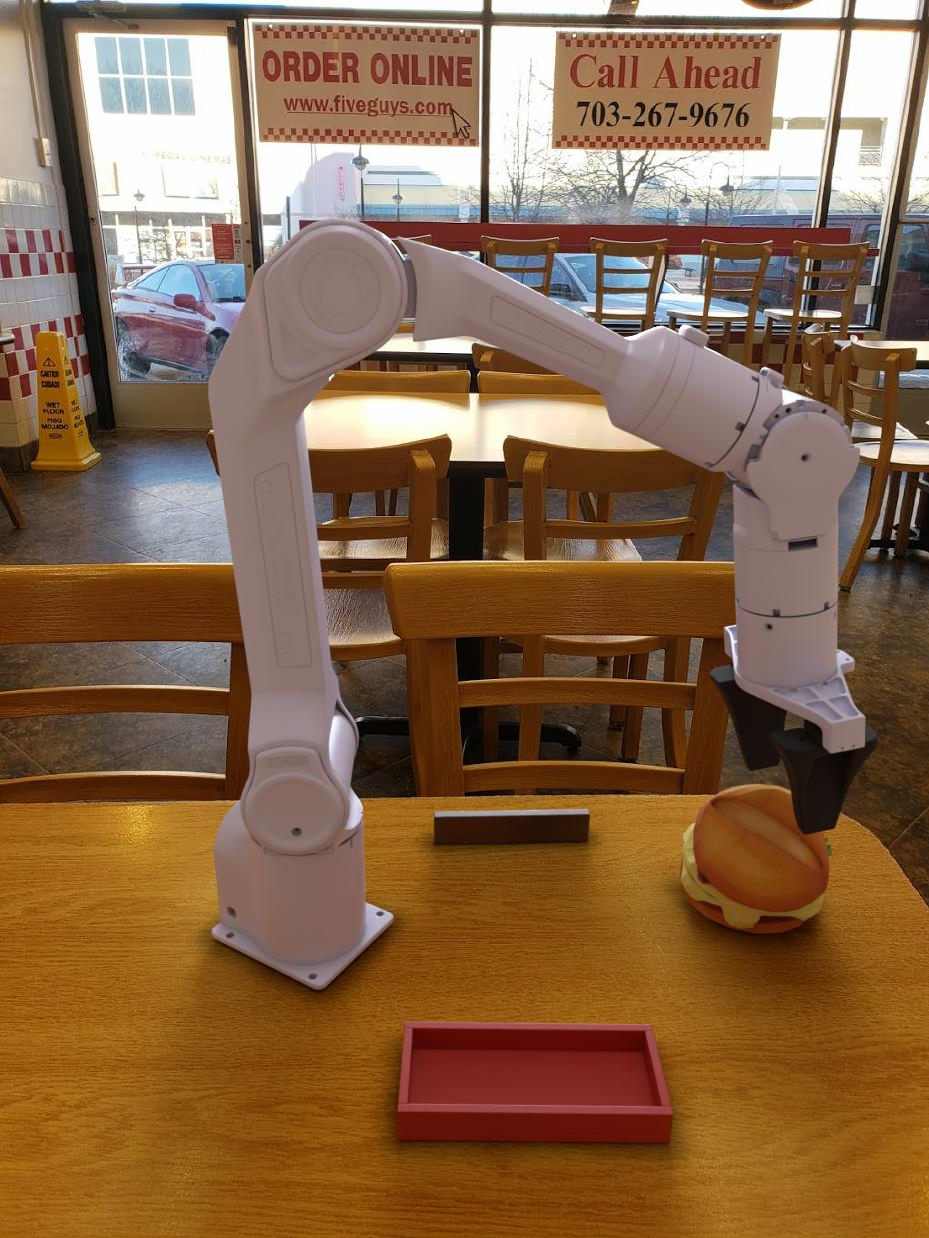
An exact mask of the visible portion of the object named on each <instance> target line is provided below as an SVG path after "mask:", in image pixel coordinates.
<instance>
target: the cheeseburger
mask: <svg viewBox="0 0 929 1238" xmlns="http://www.w3.org/2000/svg"><path fill="white" fill-rule="evenodd" d="M682 838H683V840H682V841H681V842H682V844H683V845H682V851H681V855H682V858H681V865H680V870H679V871H680V872H679V880H680V885H681V888H682V890H683V892H684V894H685V897H686V899H687V902H688V903H689V904H690V905H691V906H692V907H693V908H694V909H696V910H697V911H698V912H699V913H701V914H702V915H703V916H704V917H705V918H707V919H709V920H712V921H713V922H716V923H718V924H720V925H723V926H724V927H726V928H729V929H731V930H737V931H742V932H747V933H751V934H755V935H759V934H760V935H761V934H762V935H763V934H783V933H786V932H788V931H790V930H792V929H795V928H798V927H800V926H802V925H803V924H804V922H805V921H807V920H808V919H810V918H813V917H814V916H815V915H817V914H818V913H819V912H820V911H821V910H822V907H823V903H824V900H825V895H824V894H825V893H826V891H827V888H828V884H829V880H830V879H829V878H830V871H831V870H830V859H829V857H831V856H832V855H833V853H832V845H831V844H830V843H827V842H828V841H829V840H828V837H825V835H824V831H822V832H817V833H812V834H807V835H805V834H803V833H802V832H801V831H800V829H799V828H798V825H797V822H796V819H795V816H794V810H793V803H792V796H791V789H787V788H785V787H782V786H781V785H780V786H779V785H777V784H776V785H773V784H765V783H764V784H763V783H753V784H751V783H750V784H742V785H737V786H731V787H729V788H726V789H723V790H721V791H719V792H718V793H716V794H715V795H713V796H712V797H711V798H710V799H709V800H707V801H706V802H705V803H704V804H703V805H701V807H700V808H699V810H698V813H697V816H696V820H695V821H694V822H693V823H692V824H690V825H689V826H688V828H687V829H686V830H685V831H684V833H683V834H682Z"/></svg>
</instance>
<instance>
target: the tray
mask: <svg viewBox="0 0 929 1238" xmlns="http://www.w3.org/2000/svg"><path fill="white" fill-rule="evenodd" d="M399 1072H400V1073H399V1083H398V1084H399V1085H398V1097H397V1109H396V1118H397V1119H396V1121H397V1126H396V1127H397V1140H398V1141H451V1142H452V1141H458V1142H459V1141H463V1142H465V1141H466V1142H539V1143H540V1142H541V1143H543V1142H544V1143H545V1142H547V1143H549V1142H550V1143H551V1142H552V1143H557V1142H558V1143H634V1144H635V1143H637V1144H638V1143H639V1144H642V1143H643V1144H644V1143H645V1144H651V1143H652V1144H659V1143H660V1144H669V1143H671V1137H672V1130H673V1122H674V1111H673V1107H672V1103H671V1099H670V1094H669V1091H668V1087H667V1082H666V1077H665V1073H664V1069H663V1065H662V1060H661V1058H660V1053H659V1049H658V1044H657V1041H656V1037H655V1032H654V1028H653V1024H647V1023H645V1024H640V1023H639V1024H638V1023H635V1024H633V1023H632V1024H631V1023H629V1024H628V1023H556V1022H554V1023H552V1022H551V1023H550V1022H549V1023H548V1022H545V1023H544V1022H465V1021H464V1022H461V1021H458V1022H457V1021H455V1022H454V1021H452V1022H451V1021H404V1023H403V1035H402V1047H401V1060H400V1071H399Z"/></svg>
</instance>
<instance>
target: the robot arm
mask: <svg viewBox="0 0 929 1238" xmlns="http://www.w3.org/2000/svg"><path fill="white" fill-rule="evenodd" d="M396 239H397V241H398V242H399V243H400V245H401V248H402V249H403V251H405V252H406V253H407V255H408V257H409V258H408V259H407V258H406V259H405V258H404V257H403V254H402V253H401V251H400V250H399V248H398V247H397V246H396V245H395V243H394V242H393V241H392V240H391V239H390V238H389V237H388V236H386V234H384V233H382V232H381V231H379V230H377V229H375V228H374V227H372V226H369V225H368V224H365V223H364V222H361V221H357V220H355V219H350V218H343V217H336V218H335V217H332V218H324V219H320V220H317V221H314V222H312V223H310V224H308V225H306V226H305V227H303V228H300V230H298V232H296V233H295V234H294V235H293V236H292V237H290V239H288V240H287V241H286V242H285V243H284V244H283V245H282V246H281V247H279V249H277V250H276V252H274V254H272V255H271V256H270V257H269V258H268V259H267V260H266V261H265V262H264V263H262V264H261V266H259V268H258V269H256V271H255V273H254V277H253V279H252V282H251V286H250V289H249V292H248V295H247V298H246V299H245V302H244V304H243V306H242V308H241V309H240V313H239V314H238V317H237V318H236V321H235V323H234V324H233V327H232V329H231V331H230V334H229V335H228V338H227V340H226V342H225V344H224V346H223V348H222V350H221V352H220V354H219V356H218V358H217V360H216V362H215V364H214V366H213V369H212V371H211V372H210V376H209V378H208V392H207V393H208V394H207V397H208V403H209V410H210V415H211V416H210V417H211V424H212V430H213V438H214V444H215V450H216V451H215V452H216V458H217V464H218V465H217V466H218V471H219V472H218V473H219V480H220V485H221V492H222V499H223V506H224V513H225V521H226V527H227V535H228V541H229V547H230V554H231V561H232V569H233V575H234V581H235V582H234V583H235V589H236V596H237V603H238V609H239V615H240V623H241V630H242V637H243V643H244V651H245V658H246V664H247V671H248V678H249V686H250V692H251V697H250V713H249V725H248V726H249V727H248V736H247V752H248V760H249V774H248V777H247V780H246V782H245V784H244V787H243V790H242V792H241V796H240V799H239V800H237V801H236V802H235V803H234V805H232V806H231V808H229V810H228V811H227V812H226V814H225V815H224V817H223V818H222V820H221V822H220V825H219V826H218V829H217V832H216V835H215V840H214V844H213V845H214V846H213V860H214V871H215V878H216V879H215V880H216V890H217V891H216V892H217V899H218V900H217V901H218V910H219V920H220V922H219V923H218V924H217V925H215V926H214V927H213V928H212V929H211V937H212V938H213V939H214V940H216V941H218V942H220V943H222V944H225V945H226V946H228V947H230V948H232V949H234V950H237V951H238V952H240V953H243V954H244V955H245V956H248V957H250V958H252V959H254V960H255V961H257V962H260V963H262V964H264V965H266V966H267V967H270V968H272V969H274V970H275V971H278V972H279V973H281V974H283V975H286V976H287V977H290V978H292V979H293V980H296V981H298V982H300V983H302V984H303V985H306V986H307V987H309V988H312V989H313V990H317V991H320V990H323V989H325V988H326V987H327V986H328V985H329V984H331V982H332V981H334V980H335V979H336V978H337V977H338V976H339V975H340V974H341V973H342V972H343V971H344V970H345V969H347V967H348V966H349V965H350V964H352V962H354V960H356V959H357V957H359V956H360V955H361V954H362V953H363V952H364V951H366V949H367V948H368V947H370V945H371V944H372V943H373V942H374V941H375V940H376V939H377V938H379V937H380V935H382V934H383V933H384V932H385V931H386V930H387V929H388V928H389V927H390V926H391V925H392V924H393V923H394V915H393V913H392V912H389V911H387V910H384V909H383V908H380V907H378V906H375V905H373V904H370V903H368V902H367V901H366V900H367V899H366V898H367V896H366V895H367V894H366V865H365V837H364V836H365V833H364V807H363V803H362V801H361V800H360V798H359V797H358V796H357V795H356V793H355V792H354V790H353V788H352V786H351V783H352V776H353V768H354V762H355V761H354V760H355V758H356V756H357V751H358V748H359V741H360V734H359V730H358V726H357V723H356V721H355V719H354V717H353V716H352V715H351V713H350V711H348V709H347V708H346V706H345V705H344V702H343V700H342V698H341V697H342V696H341V692H340V686H339V685H340V684H339V679H338V676H337V674H336V673H335V670H334V669H333V665H332V657H331V650H330V649H331V648H330V641H329V630H328V629H329V628H328V622H327V621H328V620H327V613H326V612H327V611H326V604H325V595H324V593H325V592H324V585H323V577H322V566H321V557H320V549H319V548H320V547H319V541H318V540H319V539H318V530H317V523H316V521H317V520H316V512H315V511H316V510H315V504H314V503H315V502H314V494H313V493H314V492H313V485H312V477H311V467H310V459H309V449H308V440H307V431H306V423H305V422H306V421H305V410H306V408H308V406H309V405H310V404H311V403H312V402H313V400H314V399H316V397H317V396H318V395H319V394H320V393H321V392H322V390H323V389H324V388H326V386H328V384H329V383H330V382H331V380H332V378H333V377H334V376H335V375H336V374H337V373H340V372H341V371H343V370H345V369H346V368H349V367H351V366H353V365H355V364H357V363H358V362H360V361H362V360H363V359H365V358H366V357H369V356H370V355H372V354H373V353H375V352H376V351H378V350H380V349H381V348H382V347H384V346H385V345H386V344H387V343H388V342H389V341H391V339H392V338H393V337H394V335H395V334H396V333H397V331H398V329H399V328H400V326H401V324H402V322H403V319H414V321H413V323H412V342H413V343H419V342H420V343H421V342H428V341H434V340H442V339H450V338H457V337H471V338H475V339H477V340H480V341H481V342H484V343H487V344H488V345H491V346H493V347H496V348H498V349H500V350H503V351H505V352H507V353H510V354H512V355H514V356H517V357H518V358H521V359H524V360H526V361H528V362H530V363H532V364H535V365H537V366H539V367H542V368H544V369H547V370H549V371H551V372H553V373H556V374H558V375H560V376H562V377H565V378H568V379H569V380H572V381H574V382H577V383H579V384H581V385H584V386H586V387H588V388H591V389H593V390H595V391H597V392H599V394H600V395H601V397H602V400H603V402H604V405H605V409H606V412H607V415H608V416H607V417H608V419H609V421H610V423H611V425H612V426H613V427H614V428H616V429H619V430H621V431H623V432H625V433H628V434H630V435H631V436H634V437H636V438H639V439H641V440H643V441H645V442H647V443H649V444H651V445H653V446H655V447H658V448H660V449H662V450H665V451H666V452H669V453H670V454H673V455H674V456H677V457H678V458H679V457H680V458H682V459H684V460H685V461H688V462H689V463H693V464H695V465H697V466H698V467H700V468H703V469H705V470H707V471H709V472H714V473H715V472H716V473H719V472H720V473H721V472H723V473H724V474H725V475H726V477H728V478H729V479H730V480H732V481H739V482H741V483H742V484H740V483H739V482H735V483H734V484H733V485H732V494H733V495H732V496H733V525H732V526H733V528H732V536H733V537H732V538H733V568H734V569H733V570H734V571H733V572H734V595H735V596H734V597H735V601H734V602H735V603H734V604H735V624H734V625H728V626H724V627H723V638H724V653H725V655H727V656H728V657H729V658H731V661H730V662H729V664H728V665H722V666H719V667H715V668H713V669H712V670H710V673H709V676H710V679H711V680H712V682H713V684H714V685H715V687H716V688H717V690H718V692H719V694H720V695H721V697H722V700H723V702H724V705H725V706H726V708H727V711H728V714H729V716H730V719H731V722H732V726H733V728H734V731H735V736H736V739H737V742H738V746H739V749H740V753H741V756H742V759H743V762H744V765H745V767H746V769H748V770H749V772H754V771H759V770H763V769H770V768H774V767H779V765H780V762H781V761H782V764H783V766H784V769H785V772H786V775H787V779H788V783H789V788H790V789H789V790H790V791H791V796H792V803H793V810H794V816H795V819H796V822H797V825H798V828H799V829H800V831H801V832H802V833H803V834H805V835H807V834H812V833H817V832H822V831H823V832H826V831H831V830H835V829H836V826H837V823H838V822H839V818H840V815H841V812H842V809H843V805H844V803H845V800H846V797H847V795H848V792H849V790H850V787H851V785H852V783H853V780H854V779H855V777H856V776H857V773H858V771H859V770H860V769H861V767H862V766H863V765H864V763H865V762H866V760H867V759H868V758H869V757H870V756H871V755H872V753H873V752H875V750H876V749H877V748H878V744H879V733H878V732H877V731H876V730H875V729H874V728H872V727H871V726H870V725H869V724H868V723H866V716H865V714H863V713H862V712H861V711H860V710H859V709H858V708H857V706H856V705H855V702H854V701H853V697H852V695H851V692H850V690H849V686H848V683H847V681H846V677H845V675H844V674H848V673H851V672H853V671H854V670H855V669H856V668H855V664H856V660H855V658H853V657H852V656H850V654H848V653H847V652H845V651H843V650H841V649H838V598H839V500H840V497H841V495H842V494H843V492H844V491H845V489H846V488H847V487H848V486H849V484H850V483H851V481H852V479H853V478H854V476H855V474H856V471H857V470H858V466H859V462H860V457H861V447H859V446H855V444H853V438H852V437H853V436H852V433H851V429H850V427H849V426H848V425H846V424H845V422H844V421H846V420H845V418H844V417H843V416H842V414H841V413H840V412H838V411H837V410H836V409H835V408H833V407H832V406H830V405H829V404H826V403H824V402H821V401H818V400H815V399H813V398H810V397H807V396H804V395H802V394H799V393H797V392H794V391H792V390H789V388H788V386H786V385H784V384H783V383H784V380H785V376H784V375H783V374H782V373H779V372H778V371H776V370H774V369H772V368H769V367H765V366H764V367H762V368H761V369H760V371H759V372H757V371H755V370H753V369H751V368H749V367H747V366H745V365H743V364H741V363H739V362H737V361H734V360H732V359H731V358H728V357H726V356H724V355H722V354H721V353H719V352H717V351H714V350H712V349H710V348H708V347H706V345H707V343H708V342H709V340H710V336H709V335H708V334H707V333H705V332H704V331H701V330H699V329H698V328H695V327H693V326H691V325H686V324H683V325H681V326H680V328H679V329H678V331H677V332H676V331H674V330H672V329H670V328H668V327H666V326H664V325H663V326H662V325H660V326H656V327H653V328H651V329H647V330H645V331H643V332H640V333H638V334H635V335H632V336H626V337H625V336H622V335H621V334H619V333H617V332H615V331H613V330H611V329H609V328H607V327H606V326H603V325H601V324H599V323H598V322H596V321H594V320H592V319H590V318H588V317H586V316H584V315H582V314H580V313H579V312H576V311H575V310H573V309H571V308H569V307H567V306H565V305H563V304H562V303H559V302H557V301H555V300H553V299H552V298H549V296H546V295H544V294H542V293H539V292H538V291H537V290H534V289H532V288H531V287H528V286H527V285H524V284H523V283H521V282H519V281H517V280H515V279H513V278H511V277H510V276H507V275H506V274H504V273H501V272H500V271H497V270H496V269H494V268H492V267H490V266H488V265H486V264H485V263H482V262H480V261H479V260H476V259H474V258H472V257H469V256H467V255H463V254H460V253H457V252H453V251H450V250H447V249H444V248H440V247H437V246H433V245H430V244H426V243H422V242H419V241H416V240H411V239H408V238H404V237H401V236H397V237H396ZM788 712H789V713H791V714H793V715H795V716H798V717H801V718H802V719H803V727H802V726H800V727H795V728H794V727H793V728H789V729H785V727H786V725H785V724H786V718H787V713H788Z"/></svg>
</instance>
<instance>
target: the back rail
mask: <svg viewBox="0 0 929 1238" xmlns="http://www.w3.org/2000/svg"><path fill="white" fill-rule="evenodd" d="M590 820H591V812H590V809H588V808H575V809H574V808H573V809H568V808H567V809H525V810H524V809H521V810H520V809H517V810H457V811H456V810H455V811H450V810H449V811H447V810H446V811H434V812H433V844H434V845H469V844H471V845H472V844H473V845H475V844H479V845H480V844H528V843H530V844H531V843H532V844H533V843H577V842H582V843H583V842H584V843H585V842H589V837H590V836H589V834H590V823H591V821H590Z"/></svg>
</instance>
